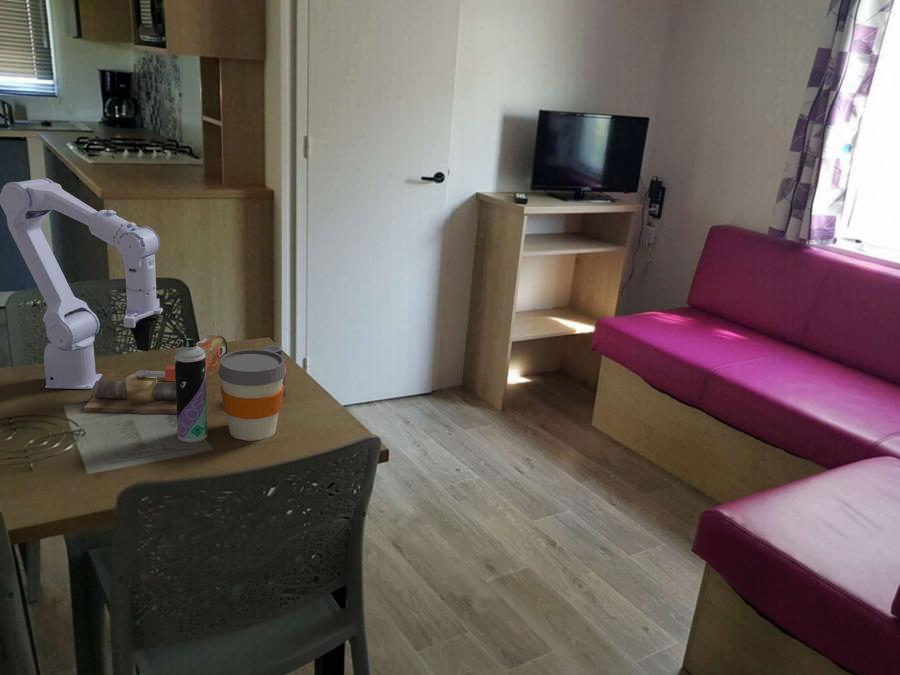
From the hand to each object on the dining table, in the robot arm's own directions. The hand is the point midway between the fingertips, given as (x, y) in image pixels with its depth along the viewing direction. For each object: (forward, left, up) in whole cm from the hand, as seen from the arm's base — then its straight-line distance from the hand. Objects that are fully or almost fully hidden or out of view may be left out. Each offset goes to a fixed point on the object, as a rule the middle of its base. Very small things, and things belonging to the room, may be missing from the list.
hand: (144, 349), depth 161 cm
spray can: (+13, -20, -11) cm, 26 cm away
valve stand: (0, -5, -10) cm, 11 cm away
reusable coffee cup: (+24, -17, -11) cm, 31 cm away
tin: (+10, +12, -11) cm, 19 cm away
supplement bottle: (+26, 0, -11) cm, 28 cm away
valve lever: (+5, -5, -5) cm, 8 cm away
